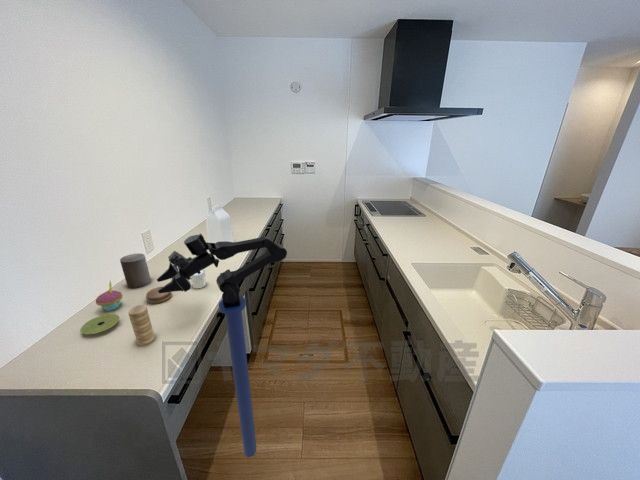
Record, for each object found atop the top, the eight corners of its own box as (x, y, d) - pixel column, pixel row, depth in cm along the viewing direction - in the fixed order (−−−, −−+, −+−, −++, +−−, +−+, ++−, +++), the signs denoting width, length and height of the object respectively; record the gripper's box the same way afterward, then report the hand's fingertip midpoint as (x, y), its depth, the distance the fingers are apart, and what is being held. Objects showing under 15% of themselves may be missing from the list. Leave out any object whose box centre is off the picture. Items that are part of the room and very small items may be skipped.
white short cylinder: (208, 286, 124) (206, 273, 122) (193, 290, 121) (190, 277, 118) (205, 280, 130) (203, 267, 127) (190, 284, 126) (187, 271, 123)
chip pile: (173, 290, 121) (172, 284, 119) (170, 302, 112) (168, 296, 111) (150, 294, 118) (148, 288, 117) (144, 306, 109) (142, 299, 108)
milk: (223, 248, 167) (218, 208, 157) (208, 246, 170) (202, 207, 161) (234, 242, 177) (230, 204, 168) (220, 239, 181) (215, 202, 171)
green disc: (100, 340, 91) (99, 335, 90) (73, 335, 93) (71, 331, 92) (128, 319, 101) (126, 315, 101) (103, 316, 103) (101, 312, 102)
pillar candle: (126, 290, 120) (118, 261, 115) (127, 281, 128) (119, 253, 122) (151, 284, 125) (144, 256, 119) (151, 276, 133) (144, 249, 127)
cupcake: (120, 299, 114) (112, 274, 109) (128, 306, 109) (120, 281, 105) (95, 308, 107) (86, 283, 103) (103, 316, 103) (94, 290, 98)
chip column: (156, 333, 95) (148, 303, 90) (152, 343, 90) (144, 312, 85) (139, 336, 93) (130, 306, 88) (135, 346, 88) (125, 315, 84)
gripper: (183, 239, 105) (143, 260, 99) (190, 256, 90) (144, 281, 85) (198, 260, 110) (161, 281, 105) (207, 279, 96) (164, 304, 91)
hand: (158, 286), depth 96 cm, fingers open, 9 cm apart
